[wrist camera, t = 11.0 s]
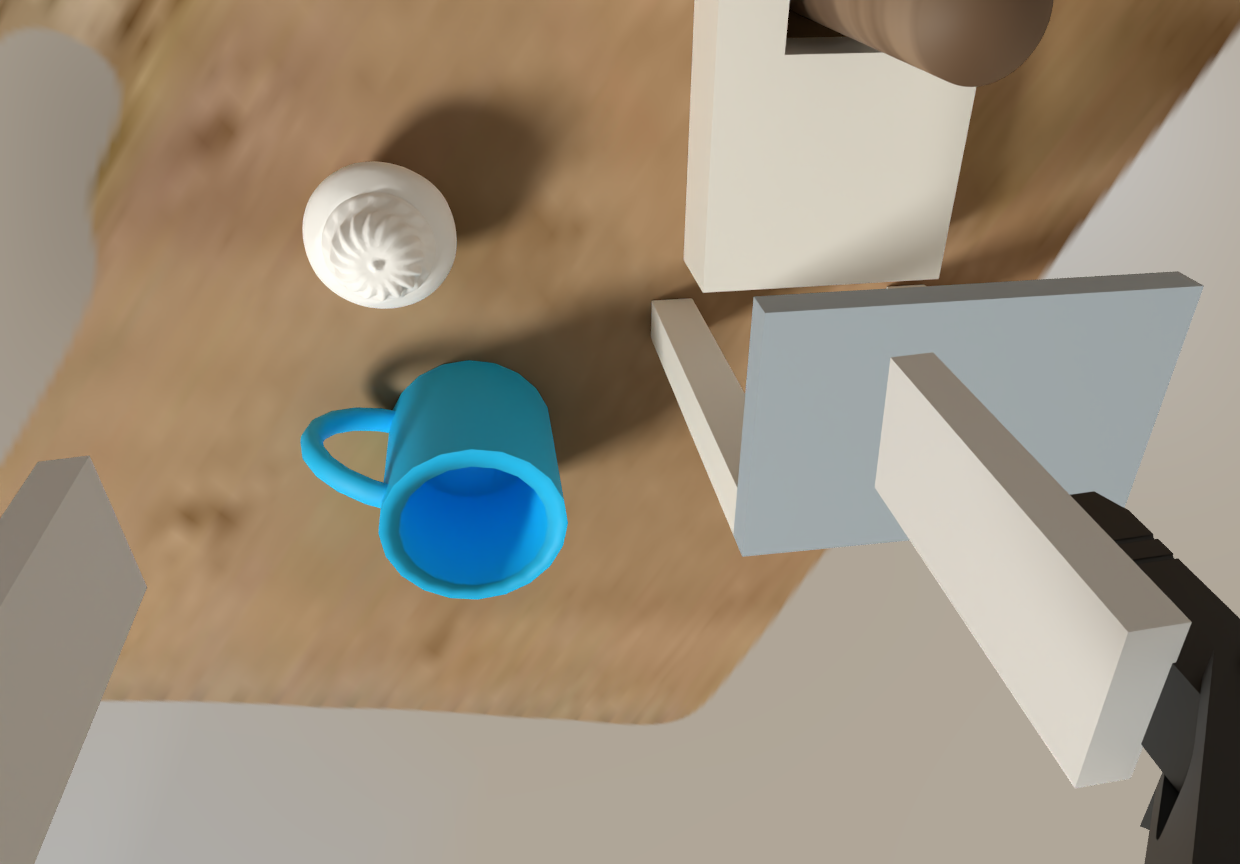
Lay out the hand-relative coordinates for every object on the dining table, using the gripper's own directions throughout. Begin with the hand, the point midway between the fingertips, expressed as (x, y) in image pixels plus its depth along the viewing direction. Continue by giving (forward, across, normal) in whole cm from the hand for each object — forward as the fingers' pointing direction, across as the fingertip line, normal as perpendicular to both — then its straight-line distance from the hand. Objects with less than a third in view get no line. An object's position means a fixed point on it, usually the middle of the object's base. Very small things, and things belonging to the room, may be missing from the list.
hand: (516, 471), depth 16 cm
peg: (+28, +15, +4) cm, 32 cm away
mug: (+28, -4, -15) cm, 32 cm away
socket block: (+28, +15, 0) cm, 31 cm away
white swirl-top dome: (+28, -4, -4) cm, 29 cm away
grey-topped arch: (+28, +14, -8) cm, 32 cm away
